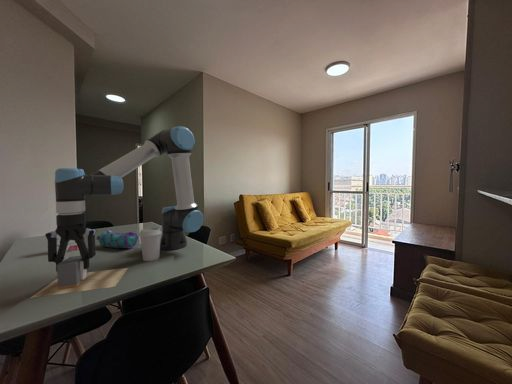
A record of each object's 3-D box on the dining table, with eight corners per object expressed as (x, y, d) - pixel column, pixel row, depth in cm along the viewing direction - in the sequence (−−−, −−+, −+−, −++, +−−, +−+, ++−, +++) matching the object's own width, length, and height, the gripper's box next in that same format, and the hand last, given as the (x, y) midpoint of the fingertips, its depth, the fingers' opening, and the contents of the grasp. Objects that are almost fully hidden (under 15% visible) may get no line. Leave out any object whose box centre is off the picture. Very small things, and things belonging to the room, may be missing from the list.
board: (128, 271, 84) (128, 267, 84) (114, 291, 68) (114, 286, 68) (61, 279, 77) (61, 275, 77) (30, 302, 62) (30, 297, 62)
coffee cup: (163, 262, 93) (163, 230, 92) (139, 267, 88) (138, 232, 87) (161, 256, 101) (161, 226, 100) (139, 260, 96) (138, 228, 96)
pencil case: (96, 248, 114) (95, 231, 114) (111, 243, 123) (110, 227, 122) (126, 251, 109) (125, 233, 108) (139, 246, 117) (139, 229, 117)
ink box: (77, 247, 114) (76, 226, 114) (77, 249, 111) (76, 228, 110) (56, 251, 109) (55, 229, 108) (55, 253, 105) (54, 230, 104)
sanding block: (70, 278, 74) (69, 256, 74) (87, 276, 76) (86, 255, 76) (57, 288, 67) (56, 264, 66) (76, 286, 68) (75, 262, 68)
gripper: (106, 210, 77) (108, 271, 78) (45, 212, 71) (47, 278, 72) (97, 213, 70) (99, 280, 71) (29, 216, 64) (32, 288, 65)
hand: (73, 279), depth 71 cm, fingers closed on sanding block, 5 cm apart
